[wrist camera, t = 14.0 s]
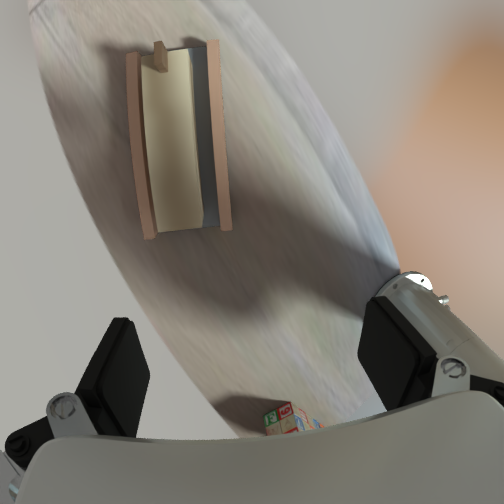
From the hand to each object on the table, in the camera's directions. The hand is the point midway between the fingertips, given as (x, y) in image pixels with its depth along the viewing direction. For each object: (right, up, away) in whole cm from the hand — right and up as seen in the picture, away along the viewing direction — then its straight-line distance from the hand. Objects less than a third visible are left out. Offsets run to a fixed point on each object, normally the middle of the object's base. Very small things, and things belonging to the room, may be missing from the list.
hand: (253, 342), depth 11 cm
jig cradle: (-8, +16, +18) cm, 25 cm away
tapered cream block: (-8, +15, +17) cm, 24 cm away
